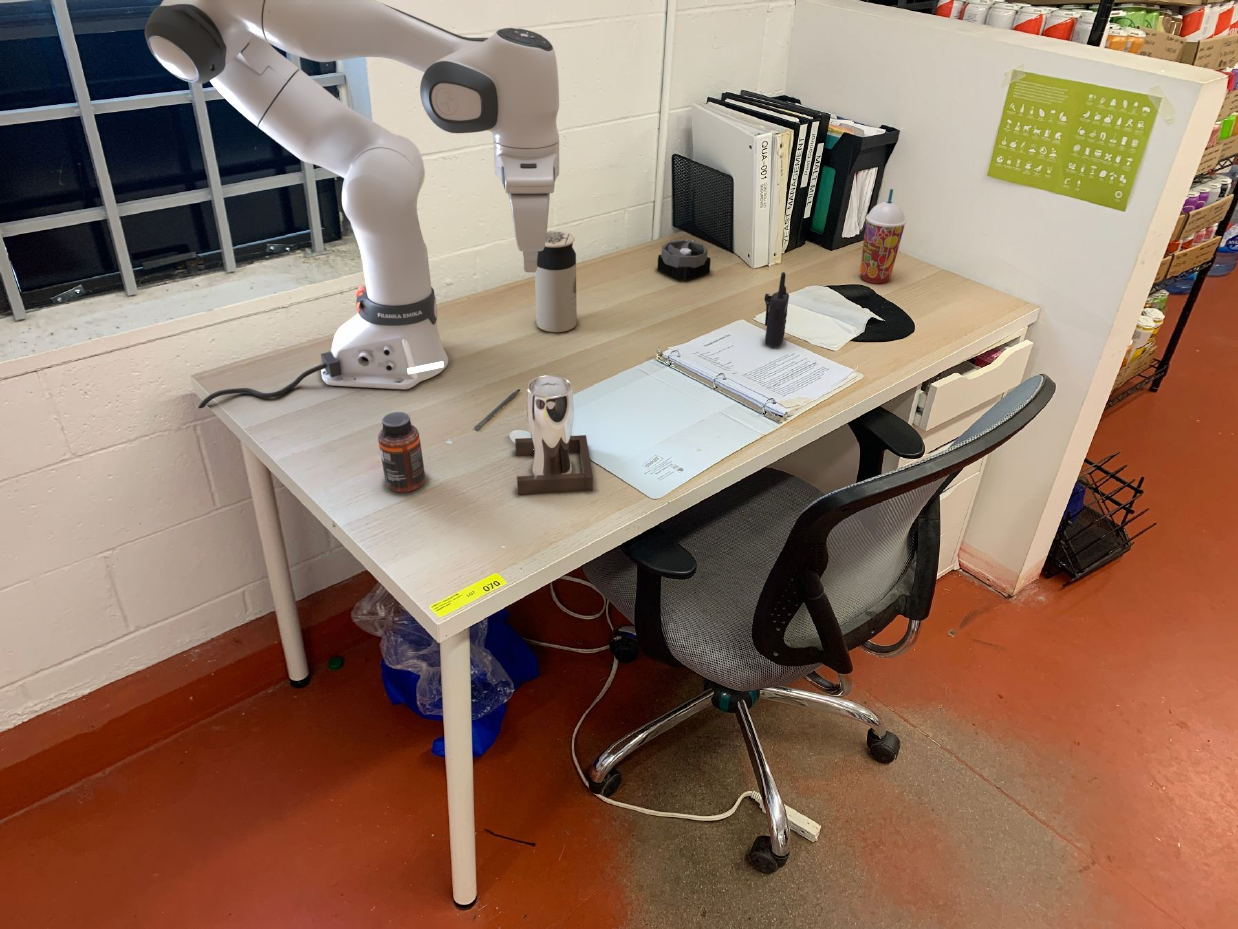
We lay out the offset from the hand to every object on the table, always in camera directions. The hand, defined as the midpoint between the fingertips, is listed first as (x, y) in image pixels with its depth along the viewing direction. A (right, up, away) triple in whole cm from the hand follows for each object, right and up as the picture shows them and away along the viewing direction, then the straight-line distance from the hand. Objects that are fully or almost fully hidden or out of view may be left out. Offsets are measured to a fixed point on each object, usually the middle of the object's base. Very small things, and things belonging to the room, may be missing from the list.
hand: (529, 257), depth 132 cm
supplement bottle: (-19, -33, +5) cm, 38 cm away
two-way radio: (+43, -6, +45) cm, 62 cm away
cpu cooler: (+27, +13, +72) cm, 78 cm away
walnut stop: (+2, -31, +8) cm, 32 cm away
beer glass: (+3, -31, +8) cm, 32 cm away
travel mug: (+1, -2, +49) cm, 50 cm away
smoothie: (+70, +11, +71) cm, 100 cm away
